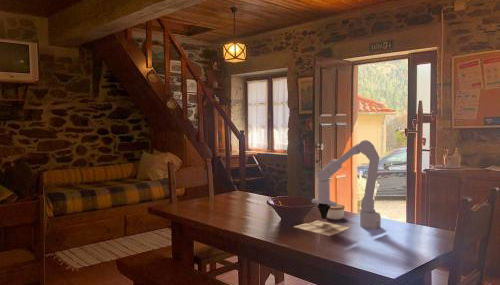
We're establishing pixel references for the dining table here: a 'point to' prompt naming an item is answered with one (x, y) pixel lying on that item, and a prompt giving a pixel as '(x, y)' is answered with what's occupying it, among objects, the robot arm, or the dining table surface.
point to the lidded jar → (336, 212)
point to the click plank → (329, 225)
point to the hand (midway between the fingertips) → (324, 218)
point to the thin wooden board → (317, 229)
